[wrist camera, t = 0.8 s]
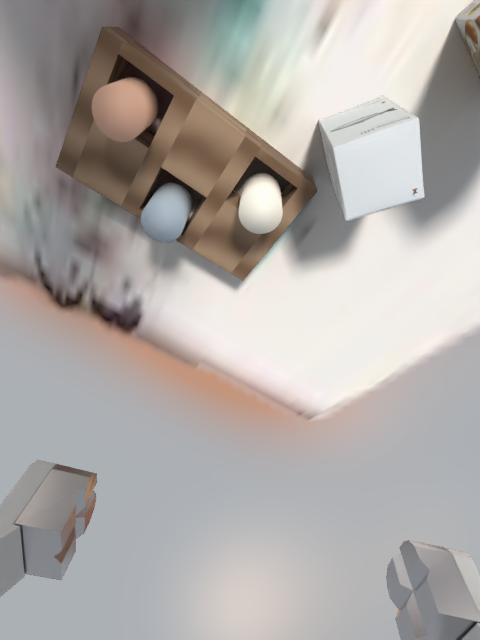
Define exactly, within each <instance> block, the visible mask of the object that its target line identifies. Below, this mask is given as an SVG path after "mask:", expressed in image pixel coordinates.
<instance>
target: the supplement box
mask: <svg viewBox="0 0 480 640" xmlns="http://www.w3.org/2000/svg"><path fill="white" fill-rule="evenodd" d="M318 123H319V127H320V132H321V137H322V142H323V147H324V151H325V156H326V161H327V166H328V170H329V175H330V179H331V182H332V185H333V188H334V191H335V194H336V196H337V199H338V201H339V204H340V206H341V209H342V212H343V215H344V219H345V220H346V221H349V220H353V219H356V218H359V217H362V216H366V215H369V214H372V213H376V212H379V211H383V210H387V209H390V208H392V207H396V206H399V205H402V204H406V203H409V202H413V201H416V200H420V199H423V198H424V197H425V196H424V184H423V171H422V158H421V141H420V124H419V118H418V117H416V116H414V115H413V114H411V113H410V112H408V111H407V110H405V109H404V108H402V107H400V106H399V105H397V104H396V103H394V102H393V101H391V100H389V99H388V98H386V97H385V96H380V97H378V98H376V99H373V100H371V101H368V102H366V103H364V104H361V105H359V106H356V107H353V108H350V109H348V110H345V111H342V112H339V113H337V114H334V115H331V116H328V117H325V118H322V119H319V120H318Z"/></svg>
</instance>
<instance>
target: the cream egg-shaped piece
mask: <svg viewBox="0 0 480 640" xmlns="http://www.w3.org/2000/svg"><path fill="white" fill-rule="evenodd" d="M282 215H283V209H282V198H281V188H280V185H279V183H278V181H277V180H276V179H275V178H274V177H273V176H271V175H270V174H267V173H256V174H254V175H252V176H250V177H249V178H248V179H247V180H246V181H245V182H244V184H243V187H242V192H241V198H240V205H239V219H240V222H241V223H242V225H243V226H244V227H245V228H246V229H247V230H248V231H250V232H252V233H256V234H265V233H268V232H271V231H272V230H274V229H275V228H276V227H277V226H278V225H279V223H280V222H281V219H282Z"/></svg>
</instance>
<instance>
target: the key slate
mask: <svg viewBox="0 0 480 640" xmlns="http://www.w3.org/2000/svg"><path fill="white" fill-rule="evenodd" d="M191 209H192V199H191V196H190V194H189V192H188V191H187V190H186V189H185V188H184V187H183V186H181V185H179V184H176V183H165V184H163V185H161V186H160V187H159V188H158V189H157V190H156V192H155V193H154V195H153V196H152V198H151V199H150V201H149V202H148V204H147V205H146V207H145V208H144V210H143V211H142V214H141V224H142V227H143V229H144V231H145V232H146V233H147V234H148V235H149V236H150V237H151V238H153V239H154V240H157V241H160V242H171V241H174V240H176V239H177V238H178V237H179V236H180V235H181V233H182V231H183V229H184V226H185V224H186V221H187V219H188V216H189V214H190V212H191Z"/></svg>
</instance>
